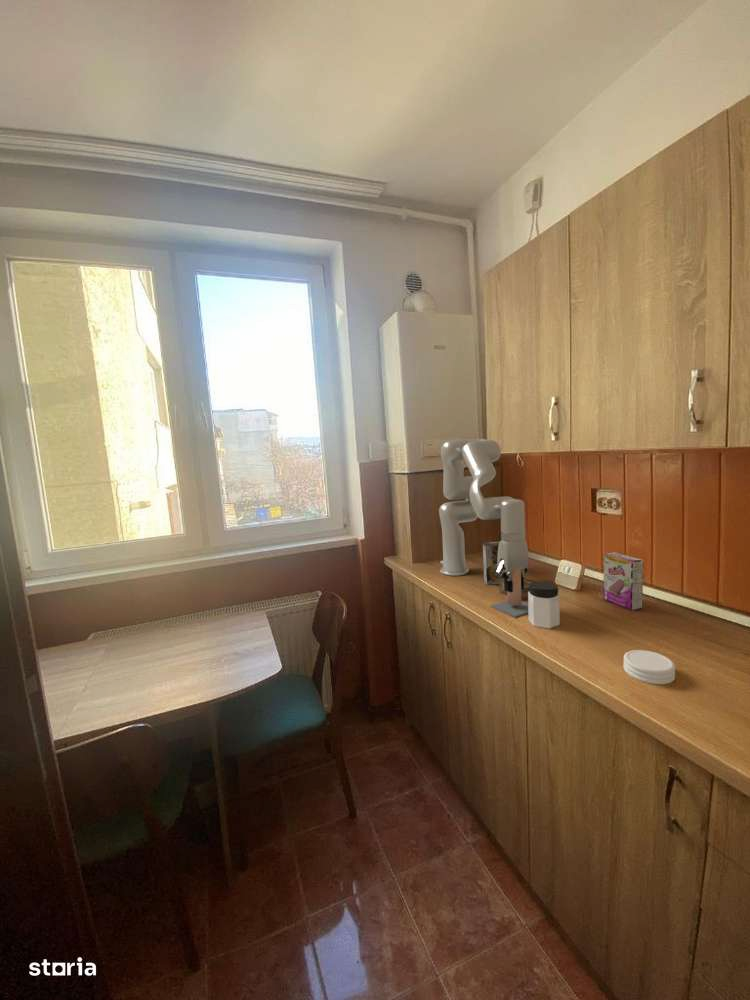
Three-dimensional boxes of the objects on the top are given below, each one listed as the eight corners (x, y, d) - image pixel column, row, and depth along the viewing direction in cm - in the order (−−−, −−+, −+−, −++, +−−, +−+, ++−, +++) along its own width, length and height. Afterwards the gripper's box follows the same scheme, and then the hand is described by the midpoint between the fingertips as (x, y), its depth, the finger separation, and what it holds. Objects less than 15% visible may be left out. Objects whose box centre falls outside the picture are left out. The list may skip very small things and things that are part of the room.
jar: (563, 628, 119) (563, 589, 118) (535, 629, 120) (535, 590, 118) (551, 616, 128) (551, 579, 127) (525, 617, 129) (525, 581, 127)
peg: (504, 602, 137) (504, 565, 135) (514, 599, 139) (513, 563, 137) (514, 606, 133) (513, 568, 131) (524, 603, 135) (523, 566, 133)
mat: (490, 606, 139) (490, 605, 139) (514, 600, 143) (514, 598, 143) (514, 617, 129) (514, 615, 129) (539, 609, 133) (539, 608, 133)
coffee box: (506, 579, 166) (505, 540, 164) (509, 584, 160) (508, 544, 158) (483, 579, 167) (482, 541, 165) (486, 584, 161) (485, 545, 159)
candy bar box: (602, 599, 139) (602, 553, 137) (613, 597, 140) (613, 551, 138) (631, 611, 128) (632, 561, 126) (643, 608, 130) (644, 559, 128)
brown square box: (499, 592, 151) (499, 582, 151) (518, 587, 155) (518, 577, 155) (518, 600, 143) (518, 589, 142) (538, 595, 147) (537, 584, 146)
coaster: (644, 688, 89) (644, 673, 89) (614, 664, 99) (614, 651, 99) (686, 683, 90) (686, 668, 90) (652, 660, 100) (652, 647, 99)
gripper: (523, 531, 140) (524, 581, 142) (485, 538, 133) (487, 591, 135) (540, 534, 133) (541, 587, 136) (501, 542, 126) (503, 598, 128)
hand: (514, 589), depth 135 cm, fingers closed on peg, 4 cm apart
